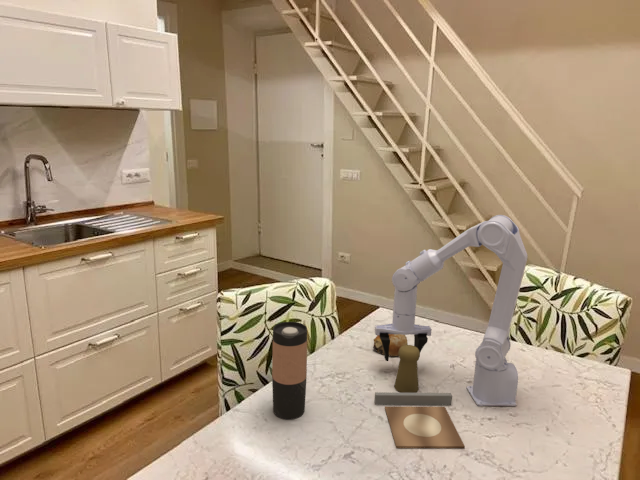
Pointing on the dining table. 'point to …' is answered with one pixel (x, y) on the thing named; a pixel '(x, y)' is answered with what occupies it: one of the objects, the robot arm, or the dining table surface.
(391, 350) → the bread roll
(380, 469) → the dining table surface
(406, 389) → the cork
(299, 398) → the travel mug
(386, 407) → the walnut board
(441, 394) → the low wall
